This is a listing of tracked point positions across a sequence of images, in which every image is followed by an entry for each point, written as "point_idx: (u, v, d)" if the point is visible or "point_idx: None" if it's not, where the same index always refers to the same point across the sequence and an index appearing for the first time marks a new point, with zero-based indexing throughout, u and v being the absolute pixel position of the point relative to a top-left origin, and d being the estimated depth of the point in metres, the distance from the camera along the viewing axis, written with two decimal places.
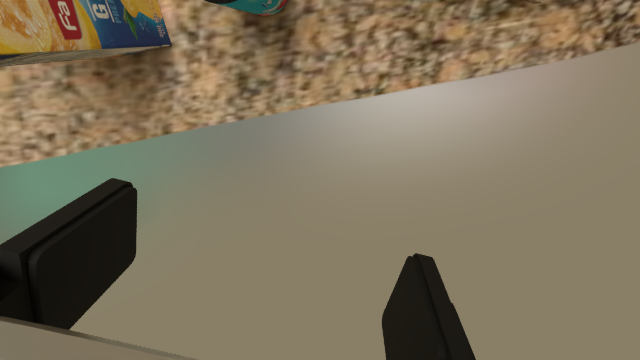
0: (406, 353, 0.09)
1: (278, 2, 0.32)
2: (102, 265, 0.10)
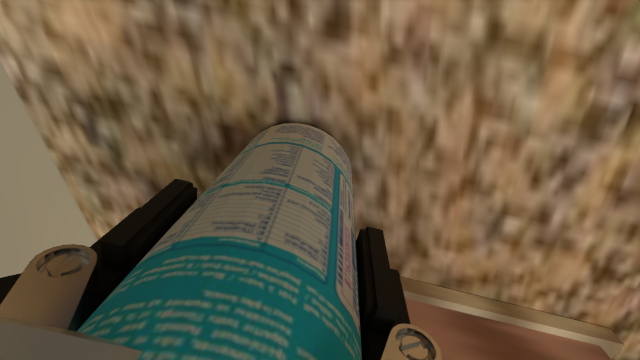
0: None
1: None
2: None
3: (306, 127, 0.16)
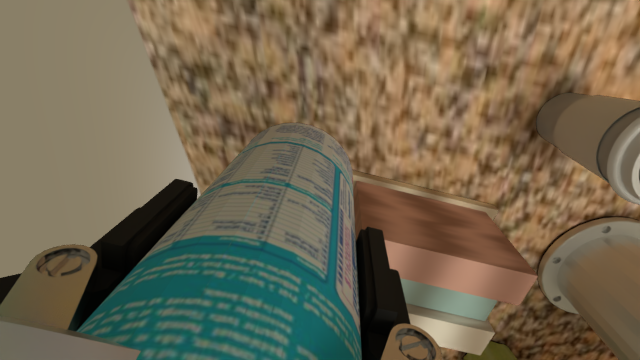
0: None
1: None
2: None
3: (307, 127, 0.16)
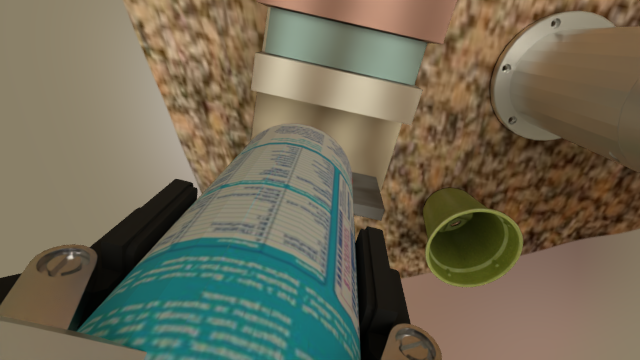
0: None
1: None
2: None
3: (306, 128, 0.16)
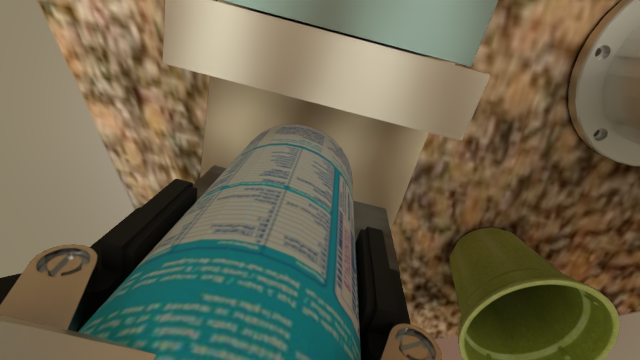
0: None
1: None
2: None
3: (306, 129, 0.16)
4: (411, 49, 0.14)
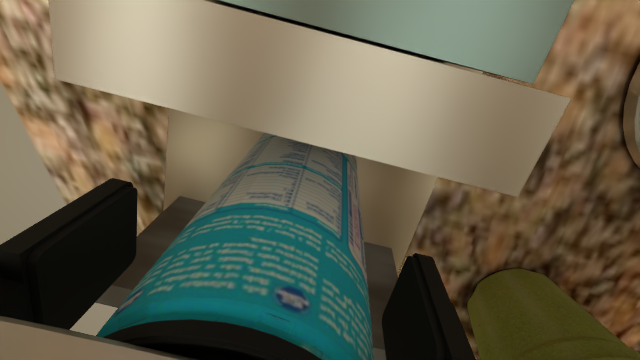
0: (406, 353, 0.09)
1: None
2: (102, 265, 0.10)
3: None
4: (441, 57, 0.09)
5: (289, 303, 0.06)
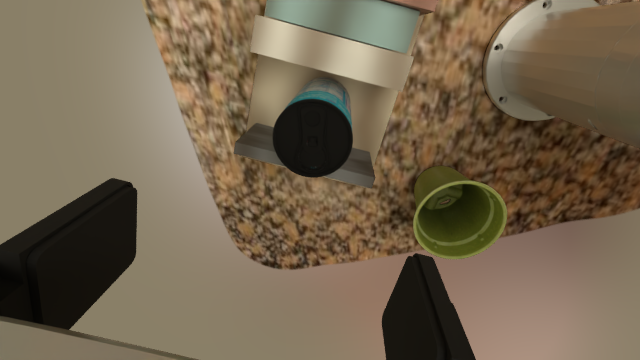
0: (406, 353, 0.09)
1: None
2: (102, 265, 0.10)
3: (330, 78, 0.35)
4: (376, 44, 0.27)
5: (330, 101, 0.24)
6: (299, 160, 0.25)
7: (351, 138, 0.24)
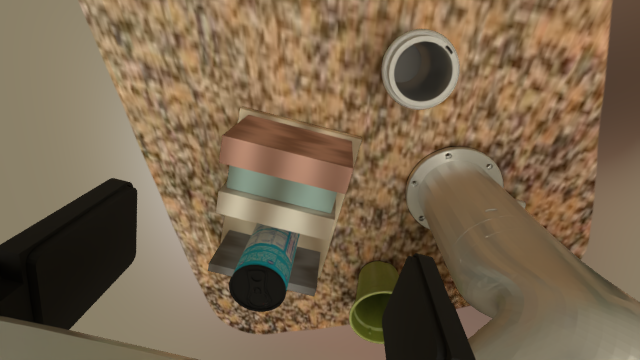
0: (406, 353, 0.09)
1: None
2: (102, 265, 0.10)
3: None
4: (308, 207, 0.37)
5: (269, 263, 0.34)
6: (249, 300, 0.35)
7: (284, 289, 0.34)
